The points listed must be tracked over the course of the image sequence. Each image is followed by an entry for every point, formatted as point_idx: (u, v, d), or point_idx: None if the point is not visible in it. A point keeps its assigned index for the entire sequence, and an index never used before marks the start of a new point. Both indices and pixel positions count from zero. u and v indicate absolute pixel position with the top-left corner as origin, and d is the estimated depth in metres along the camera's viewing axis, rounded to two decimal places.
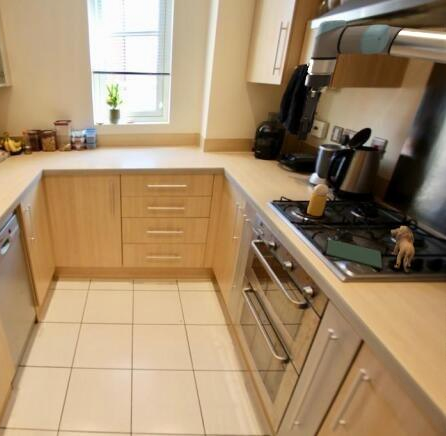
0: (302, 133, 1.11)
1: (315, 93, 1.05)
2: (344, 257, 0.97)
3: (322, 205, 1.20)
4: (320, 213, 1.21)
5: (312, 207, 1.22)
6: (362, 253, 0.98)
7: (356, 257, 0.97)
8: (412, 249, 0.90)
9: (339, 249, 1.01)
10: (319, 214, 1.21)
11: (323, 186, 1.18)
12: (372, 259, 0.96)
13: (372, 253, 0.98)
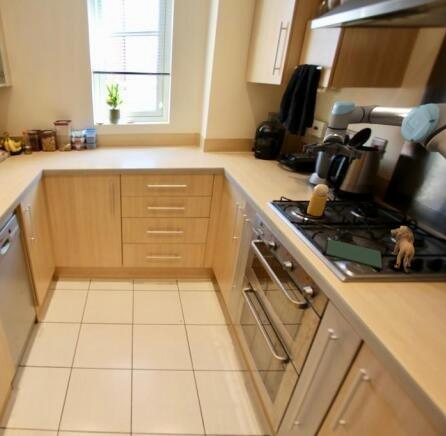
0: (309, 153, 1.27)
1: None
2: (344, 257, 0.97)
3: (322, 205, 1.20)
4: (320, 213, 1.21)
5: (312, 207, 1.22)
6: (362, 253, 0.98)
7: (356, 257, 0.97)
8: (412, 249, 0.90)
9: (339, 249, 1.01)
10: (319, 214, 1.21)
11: (323, 186, 1.18)
12: (372, 259, 0.96)
13: (372, 253, 0.98)
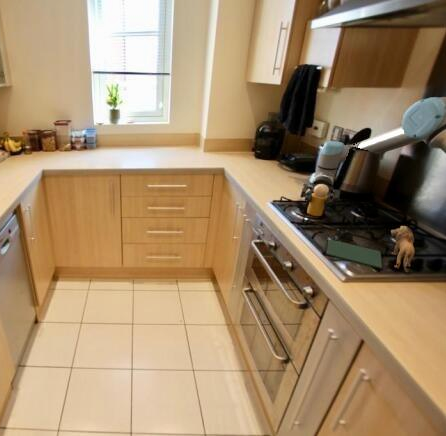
0: (307, 200, 1.21)
1: (303, 185, 1.32)
2: (344, 257, 0.97)
3: (322, 205, 1.20)
4: (320, 213, 1.21)
5: (312, 207, 1.22)
6: (362, 253, 0.98)
7: (356, 257, 0.97)
8: (412, 249, 0.90)
9: (339, 249, 1.01)
10: (319, 214, 1.21)
11: (323, 186, 1.18)
12: (372, 259, 0.96)
13: (372, 253, 0.98)
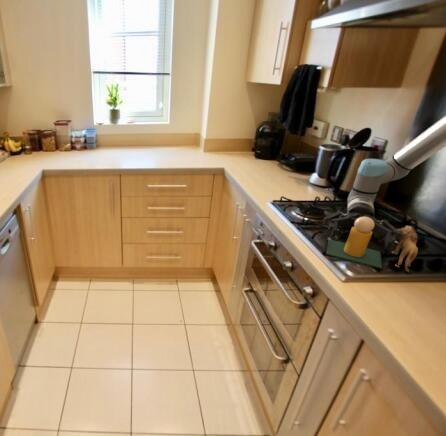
0: (332, 230, 0.99)
1: (336, 212, 1.08)
2: (344, 257, 0.97)
3: (365, 243, 0.95)
4: (362, 253, 0.96)
5: (352, 245, 0.97)
6: None
7: (356, 257, 0.97)
8: (416, 249, 0.90)
9: (339, 249, 1.01)
10: (361, 254, 0.96)
11: (368, 220, 0.93)
12: (372, 259, 0.96)
13: (372, 253, 0.98)
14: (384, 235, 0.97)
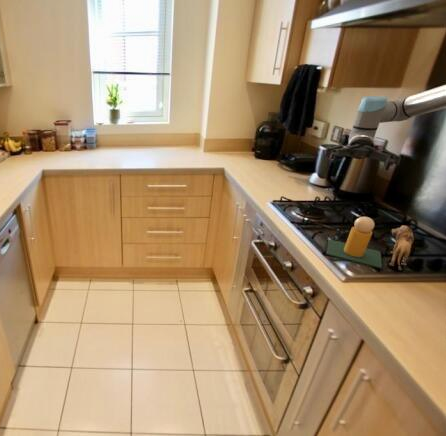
0: (334, 157, 1.04)
1: None
2: (344, 257, 0.97)
3: (365, 243, 0.95)
4: (362, 253, 0.96)
5: (352, 245, 0.97)
6: None
7: (356, 257, 0.97)
8: (407, 248, 0.91)
9: (339, 249, 1.01)
10: (361, 254, 0.96)
11: (368, 220, 0.93)
12: (372, 259, 0.96)
13: (372, 253, 0.98)
14: (384, 160, 1.01)
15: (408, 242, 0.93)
